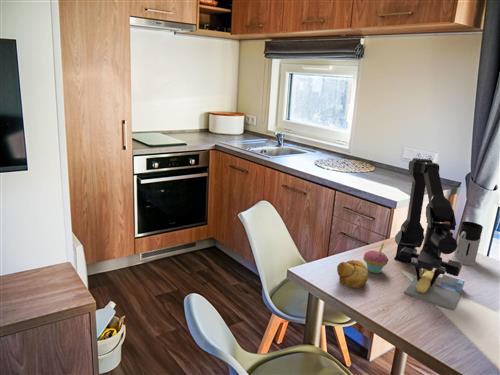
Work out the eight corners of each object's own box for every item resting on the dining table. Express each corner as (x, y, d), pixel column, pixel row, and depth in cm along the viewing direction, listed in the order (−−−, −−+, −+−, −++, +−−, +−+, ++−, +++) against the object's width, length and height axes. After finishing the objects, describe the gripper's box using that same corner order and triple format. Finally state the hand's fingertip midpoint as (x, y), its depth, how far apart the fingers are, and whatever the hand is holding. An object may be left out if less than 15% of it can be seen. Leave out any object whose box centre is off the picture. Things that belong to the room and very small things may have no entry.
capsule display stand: (404, 293, 138) (405, 283, 137) (417, 275, 152) (419, 265, 151) (453, 310, 130) (455, 300, 129) (462, 289, 144) (465, 280, 143)
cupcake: (390, 270, 153) (395, 240, 150) (379, 278, 147) (384, 246, 144) (368, 262, 159) (373, 232, 156) (357, 269, 153) (362, 238, 150)
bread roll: (346, 270, 151) (349, 250, 149) (372, 279, 147) (376, 258, 144) (332, 284, 141) (335, 262, 138) (361, 294, 136) (365, 271, 134)
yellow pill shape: (424, 296, 136) (426, 286, 135) (413, 292, 138) (415, 282, 137) (434, 280, 147) (436, 271, 146) (423, 277, 149) (425, 268, 148)
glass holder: (479, 261, 168) (488, 226, 163) (465, 271, 158) (474, 233, 154) (456, 253, 174) (464, 219, 169) (442, 262, 164) (450, 226, 160)
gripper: (397, 240, 137) (389, 283, 141) (460, 257, 127) (449, 303, 131) (407, 230, 146) (399, 271, 150) (466, 246, 136) (456, 290, 140)
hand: (424, 283), depth 142 cm, fingers closed on yellow pill shape, 4 cm apart
